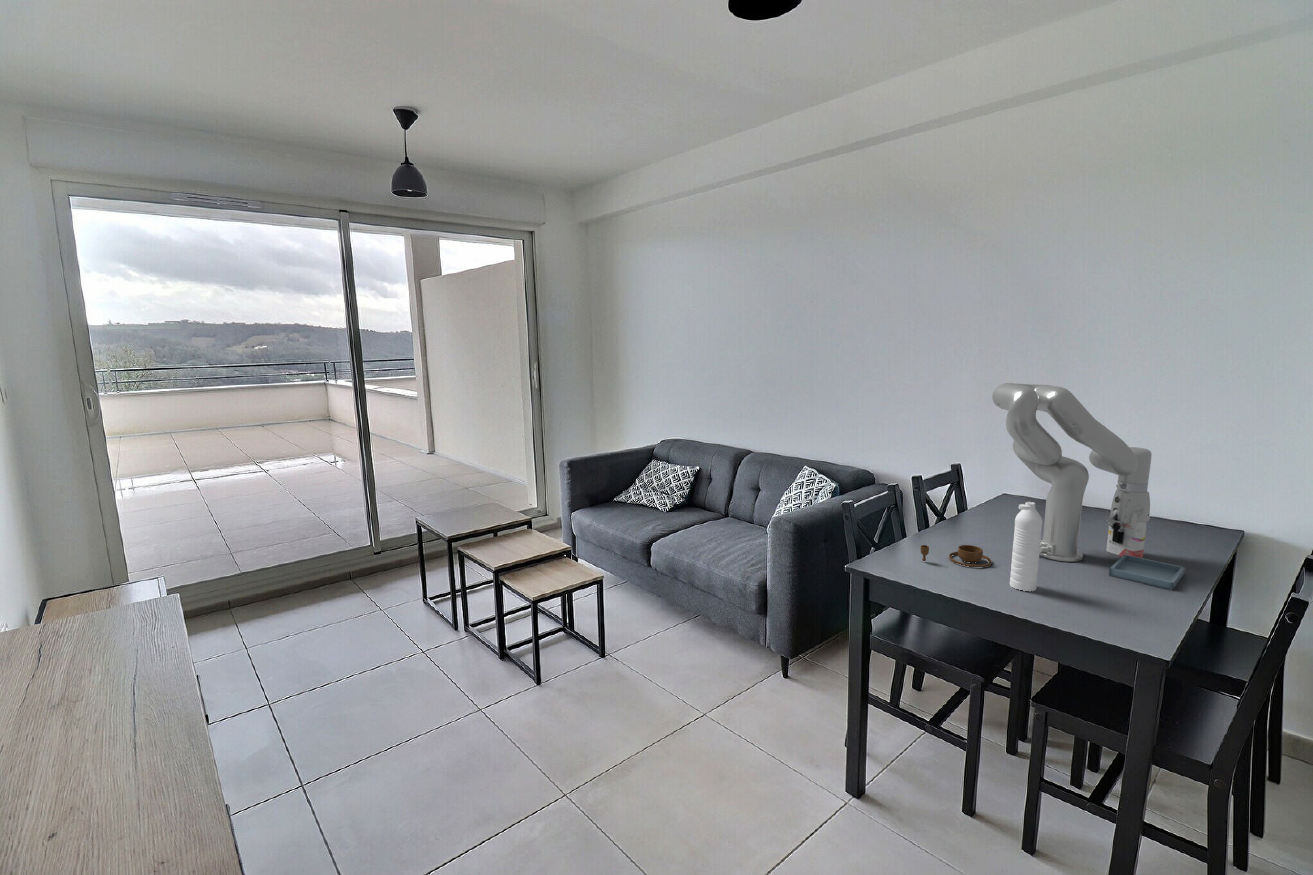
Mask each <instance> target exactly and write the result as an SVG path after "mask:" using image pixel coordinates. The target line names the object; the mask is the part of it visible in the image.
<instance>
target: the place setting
mask: <svg viewBox="0 0 1313 875" xmlns="http://www.w3.org/2000/svg"><path fill="white" fill-rule="evenodd" d="M929 552H930V546H929V545H927V544H926V545H925V544H921V545H920V554H921V555H922V562H923V561H925V562H926V561H927V557H926V556H928V555H929ZM952 555H957V556H958V558H960V560H962V562H961V561H959V560H955V559H954V558H953V557H952V558H951V556H952ZM948 558H949V561H950V562H952V561H953V562H954V563H953V562H952V563H953V564H955V563H958V564H961V565H965V566H969V567H985V568H988V567H990V566H991V564H992V560H991V558H990V557H988V556H987V555H984V550H983V549H982V548H981V547H979V546H977V545H972V544H971V545H970V544H961V545H959V546H958V550H957V551H952V552H950V553H949V554H948ZM982 558H983V559H982ZM984 559H987V560H988V561H989V563H988V562H987V563H985V564H976V563H975V562H977V563H978V562H980V561H982V560H984ZM964 561H965V562H964ZM966 562H970V563H974V564H970V563H966ZM989 565H990V566H989ZM987 566H988V567H987ZM969 567H968V568H969Z"/></svg>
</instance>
